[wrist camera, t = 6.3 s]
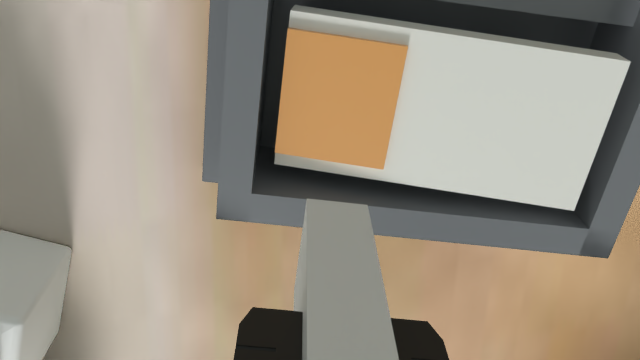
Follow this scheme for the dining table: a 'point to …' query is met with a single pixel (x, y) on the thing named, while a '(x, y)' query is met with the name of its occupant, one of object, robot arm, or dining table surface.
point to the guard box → (400, 199)
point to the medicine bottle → (30, 294)
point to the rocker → (443, 107)
